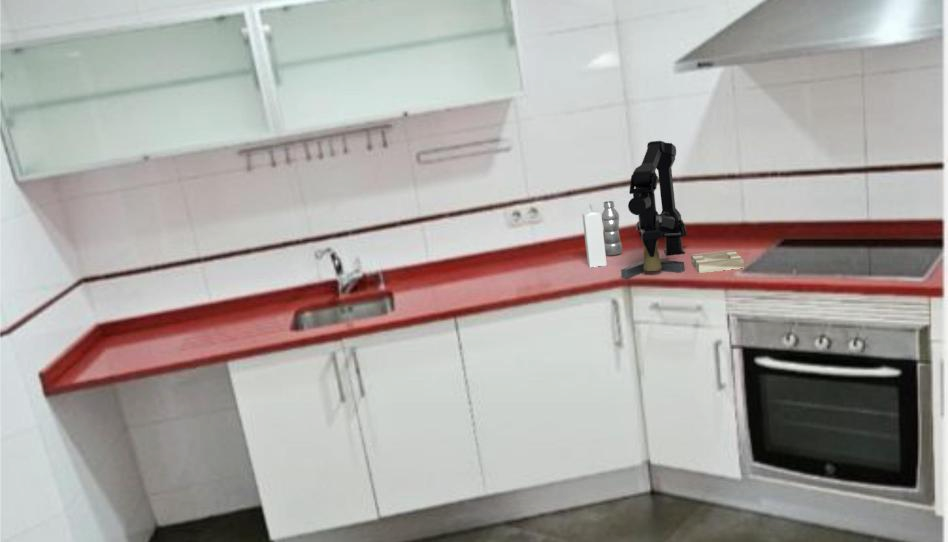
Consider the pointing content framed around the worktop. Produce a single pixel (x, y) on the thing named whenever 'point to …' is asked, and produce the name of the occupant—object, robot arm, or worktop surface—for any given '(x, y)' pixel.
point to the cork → (651, 260)
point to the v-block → (666, 266)
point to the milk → (594, 238)
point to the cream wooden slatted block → (717, 261)
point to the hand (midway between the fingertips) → (651, 255)
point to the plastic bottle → (611, 229)
